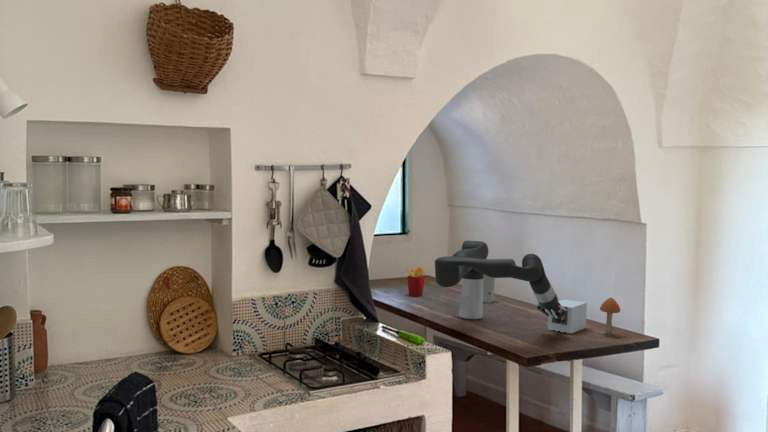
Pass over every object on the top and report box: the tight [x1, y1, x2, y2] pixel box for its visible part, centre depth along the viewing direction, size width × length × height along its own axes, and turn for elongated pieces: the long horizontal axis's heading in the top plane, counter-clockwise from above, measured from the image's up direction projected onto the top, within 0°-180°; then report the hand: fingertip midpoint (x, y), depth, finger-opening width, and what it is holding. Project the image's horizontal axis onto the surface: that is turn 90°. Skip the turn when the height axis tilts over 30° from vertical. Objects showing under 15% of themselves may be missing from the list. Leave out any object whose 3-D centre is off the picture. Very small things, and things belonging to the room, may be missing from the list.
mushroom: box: [599, 297, 621, 336], centre depth 302 cm, size 8×8×15 cm
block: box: [547, 299, 588, 334], centre depth 311 cm, size 15×10×10 cm
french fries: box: [406, 265, 427, 298], centre depth 377 cm, size 9×8×15 cm
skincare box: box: [483, 275, 496, 304], centre depth 366 cm, size 8×7×16 cm
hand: (558, 321), depth 303 cm, fingers closed
